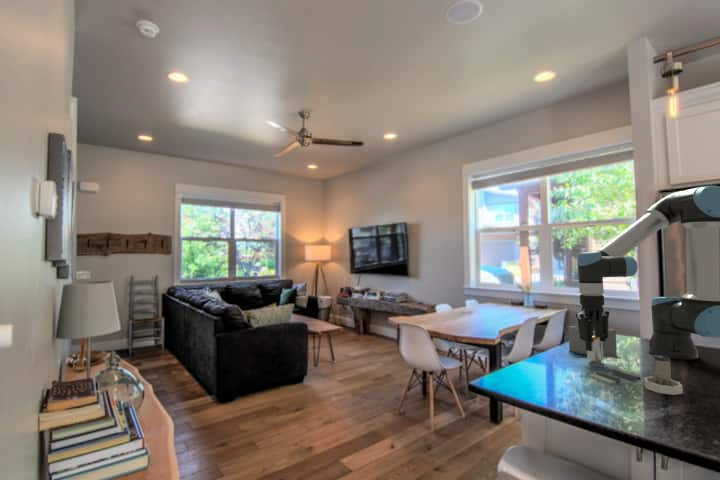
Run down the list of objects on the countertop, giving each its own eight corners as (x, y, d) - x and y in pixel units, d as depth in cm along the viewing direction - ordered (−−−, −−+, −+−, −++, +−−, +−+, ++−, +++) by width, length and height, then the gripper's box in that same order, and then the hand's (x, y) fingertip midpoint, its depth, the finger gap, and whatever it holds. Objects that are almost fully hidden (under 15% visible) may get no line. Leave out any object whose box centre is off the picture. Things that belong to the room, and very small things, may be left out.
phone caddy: (591, 347, 156) (590, 324, 156) (616, 355, 145) (615, 329, 145) (569, 350, 153) (568, 326, 153) (593, 357, 142) (592, 332, 142)
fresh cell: (595, 362, 134) (593, 335, 134) (604, 365, 130) (602, 337, 130) (587, 363, 133) (585, 336, 133) (596, 366, 129) (594, 338, 130)
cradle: (618, 375, 121) (617, 366, 122) (649, 385, 112) (648, 375, 112) (585, 379, 118) (584, 370, 118) (614, 391, 108) (613, 380, 108)
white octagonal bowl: (658, 387, 110) (657, 375, 110) (689, 397, 102) (688, 384, 103) (638, 390, 108) (637, 378, 108) (667, 401, 100) (667, 388, 100)
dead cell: (658, 388, 108) (656, 354, 109) (673, 391, 105) (672, 357, 106) (653, 390, 106) (651, 356, 107) (668, 394, 103) (667, 359, 104)
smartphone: (610, 352, 151) (609, 349, 151) (597, 359, 141) (597, 356, 141) (588, 348, 157) (588, 345, 157) (574, 355, 147) (574, 352, 147)
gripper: (599, 291, 138) (603, 354, 137) (565, 294, 134) (569, 358, 133) (618, 293, 131) (622, 359, 130) (582, 296, 127) (587, 364, 126)
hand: (595, 359), depth 131 cm, fingers closed on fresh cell, 3 cm apart
